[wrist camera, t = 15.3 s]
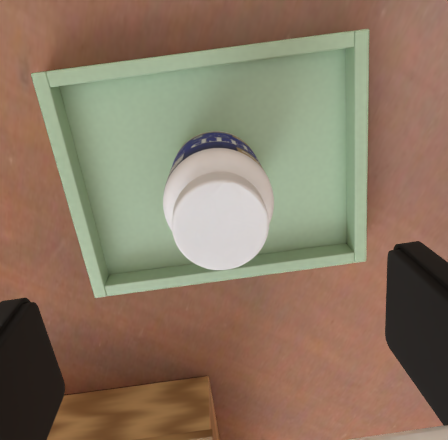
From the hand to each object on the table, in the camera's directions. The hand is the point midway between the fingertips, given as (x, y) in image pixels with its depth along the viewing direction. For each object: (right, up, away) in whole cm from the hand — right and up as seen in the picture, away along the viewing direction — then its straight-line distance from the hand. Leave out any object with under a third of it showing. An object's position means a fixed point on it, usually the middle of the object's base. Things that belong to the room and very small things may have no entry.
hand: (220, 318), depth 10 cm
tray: (0, +6, +14) cm, 15 cm away
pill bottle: (0, +6, +14) cm, 15 cm away
